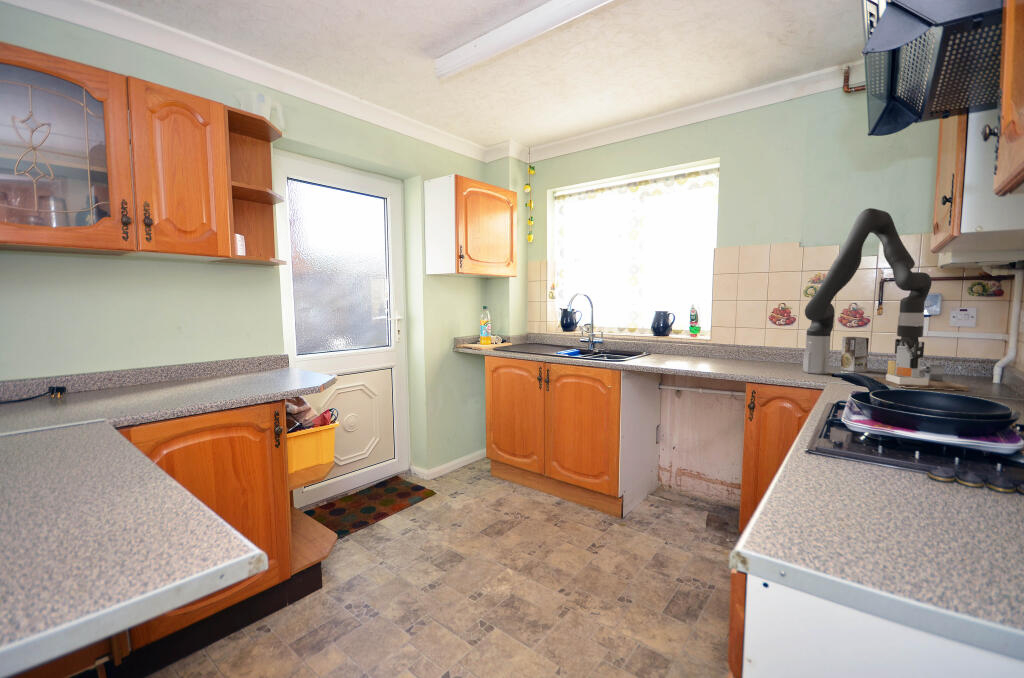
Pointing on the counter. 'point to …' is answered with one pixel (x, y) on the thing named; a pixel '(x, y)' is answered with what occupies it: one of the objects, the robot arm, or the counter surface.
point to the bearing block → (934, 372)
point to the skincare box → (905, 364)
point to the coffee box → (854, 354)
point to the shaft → (893, 365)
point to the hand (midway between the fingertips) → (907, 366)
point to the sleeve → (907, 380)
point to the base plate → (930, 385)
